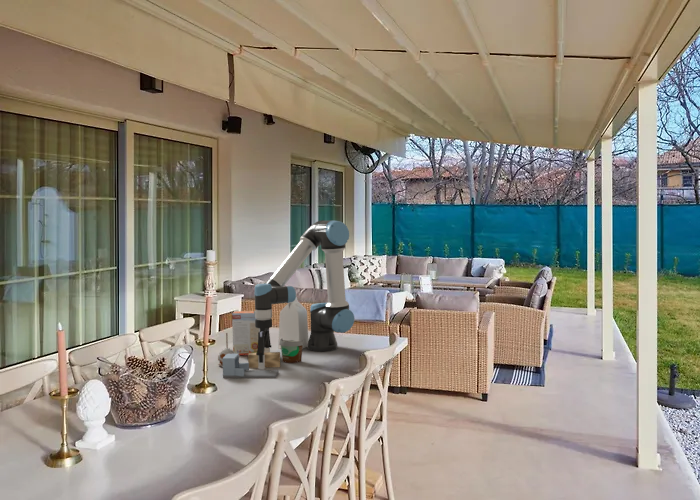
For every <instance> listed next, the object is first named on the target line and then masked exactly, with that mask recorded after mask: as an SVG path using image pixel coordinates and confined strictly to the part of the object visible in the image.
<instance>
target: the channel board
mask: <svg viewBox="0 0 700 500" xmlns="http://www.w3.org/2000/svg"><path fill="white" fill-rule="evenodd" d="M278 374H279V370H278V369H277V370H275V369H273V370H271V369H270V370H269V369H268V370H267V369H265V370H258V369H257V370H256V369H254V370H253V369H252V370H251V369H250V368H249V363H248V362H240V355H239V354H227V355H225V356H224V357H223V367H222V379H276V378H277V376H278Z"/></svg>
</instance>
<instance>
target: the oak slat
mask: <svg viewBox="0 0 700 500" xmlns="http://www.w3.org/2000/svg"><path fill="white" fill-rule="evenodd" d="M264 355H265V368H280V367H281V352H280V351H277V352H272V351H270V352H265V353H264ZM247 361H248V362H247V363H249V369H255V368H256V369H257V368H258V355H256V353H249V354H248V355H247Z"/></svg>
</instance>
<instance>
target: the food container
mask: <svg viewBox="0 0 700 500" xmlns="http://www.w3.org/2000/svg"><path fill="white" fill-rule="evenodd" d="M278 345H281V349H280V350H281V352H280V353H281V359H282V363H285V364H296V363H297V364H298V363H301V362H302V359H303V357H302V356H303V349H302V346H303V345H304V343H303V340H302V341H297V342H296V341H293V340H290V341H286V340H283V338H282V339H280V343H279V342H278Z"/></svg>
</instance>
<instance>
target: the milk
mask: <svg viewBox="0 0 700 500" xmlns="http://www.w3.org/2000/svg"><path fill="white" fill-rule="evenodd" d="M278 319H279V324H278V347H277V348H278V350H281V345H279V343H280V339H282V338H283V340H286V341H290V340H293V341H296V342H297V341H302V340H303V343H304V345H303V346H302V350H303V349H305V348H308V341H309V327H308V310H307V308H306V307H305V306H304V305H303V304H302V303H301V302H300V301H299V300H298V297H297V295H296V298H295V300H294V301H293V302H290V303H286V305H285V306H284V307H282V309H281V310H280V312H279V318H278Z"/></svg>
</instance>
